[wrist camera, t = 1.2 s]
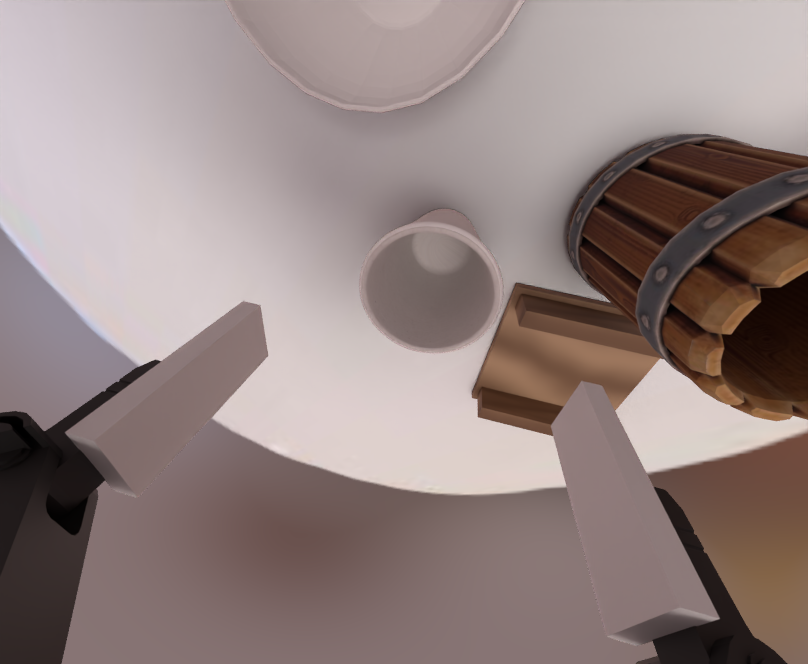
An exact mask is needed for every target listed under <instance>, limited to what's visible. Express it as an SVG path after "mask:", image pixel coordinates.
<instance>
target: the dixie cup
mask: <svg viewBox="0 0 808 664" xmlns="http://www.w3.org/2000/svg"><path fill="white" fill-rule="evenodd" d="M359 288H360V296H361V300H362V304H363V307H364V309H365V311H366V313H367V315H368V317H369V318H370V320H371V321H372V323H373V324H374V325H375V327H376V328H377V329H378V330H379V331H380V332H381V333H382V334H383V335H385V336H386V337H387V338H389V339H390V340H391V341H393V342H395V343H396V344H398V345H400V346H403V347H405V348H408V349H411V350H414V351H418V352H424V353H445V352H451V351H455V350H458V349H461V348H464V347H466V346H468V345H470V344H472V343H473V342H475V341H476V340H478V339H479V338H480V337H482V336H483V335H484V334H485V333H486V332H487V331H488V330H489V329H490V327H491V326H492V325H493V323H494V322H495V320H496V318H497V316H498V314H499V311H500V309H501V305H502V300H503V280H502V275H501V272H500V269H499V266H498V264H497V262H496V260H495V258H494V257H493V255H492V254H491V252H490V251H489V250H488V248H487V247H486V246H485V245H484V244H483V243H482V242H481V240H480V238H479V236H478V234H477V232H476V230H475V228H474V226H473V225H472V223H471V222H470V221H469V219H468V218H467V217H465V216H464V215H463V214H461V213H459V212H457V211H455V210H451V209H437V210H433V211H431V212H428V213H427V214H425V215H423V216H422V217H420V218H419V219H417V220H416V221H414V222H412V223H411V224H407V225H404V226H401V227H399V228H396V229H394V230H392V231H391V232H389V233H388V234H386V235H385V236H383V237H382V238H381V239H380V240H379V241H378V242H377V243H376V244H375V245H374V246H373V247H372V249H371V250H370V251H369V253H368V255H367V256H366V258H365V260H364V263H363V266H362V269H361V273H360V281H359Z"/></svg>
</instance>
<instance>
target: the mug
mask: <svg viewBox="0 0 808 664" xmlns="http://www.w3.org/2000/svg"><path fill="white" fill-rule="evenodd" d="M569 225H570V226H571V227H570V231H569V234H568V236H567V242H568V250H569V254H570V257H571V260H572V263H573V266H574V268H575V269H576V270H577V272H578V273H579V274H580V276H581V277H582V278H583V279H584V280H585V281H586V282H587V283H588V284H589V285H590V286H591V287H592V288H593V289H594V290H596V291H597V292H599V293H601V294H602V295H604V296H605V297H606V298H607V299H608V300H609V301H610V302H611V303H612V304H613V305H614V306H615V307H616V308H617V309H619V310H620V311H621V312H622V313H623V314H624V315H625V316H626V317H627V318H628V319H629V320H630V321H631V322H632V323H633V324H634V325H635V326H636V327H637V328H638V329H639V330H640V332H641V334H642V335H643V336H644V337H645V339H646V340H647V341H648V343H649V344H650V345H651V347H652V348H653V349H654V350H655V351H656V352H657V353H658V354H659V355H660V356H661V357H662V358H664V359H665V360H666V361H667V362H668V363H669V364H670V365H671V366H672V367H673V368H674V369H676V370H677V371H679V372H680V373H682V374H683V375H685V376H687V377H688V378H690V379H691V380H692V381H693V382H694V383H695V384H696V385H697V386H698V387H699V388H700V389H701V390H702V391H703V392H705V393H706V394H708V395H710V396H711V397H713V398H714V399H716V400H718V401H720V402H723V403H725V404H729V405H730V406H731V407H734V408H736V409H738V410H740V411H743V412H745V413H747V414H750V415H752V416H754V417H758V418H762V419H767V420H773V421H780V420H787V419H790V418H791V417H792V416H797V417H800V418H804V419H807V420H808V157H807V156H801V155H796V154H790V153H785V152H779V151H774V150H769V149H763V148H758V147H753V146H752V145H750V144H747V143H744V142H740V141H737V140H733V139H730V138H727V137H721V136H715V135H710V134H687V135H677V136H673V137H669V138H666V139H660V140H657V141H654V142H650V143H647V144H644V145H642V146H640V147H638V148H636V149H634V150H632V151H630V152H628V153H627V154H626V156H625V157H623V158H622V159H621V160H620V161H618V162H613V163H612V164H610V165H609V166H608V167H607V168H606V169H604V170H603V171H602V172H601V173H600V174H599V175H598V176H597V177H596V178H595V179H594V180H593V181H592V182H591V184H590V185H589V186H588V191H587V193H586V194H585V195H584V196H582V197H581V198H580V199H579V201H578V203H577V204H576V206H575V208H574V210H573V213H572V216H571V219H570V222H569Z"/></svg>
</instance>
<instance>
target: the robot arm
mask: <svg viewBox="0 0 808 664" xmlns="http://www.w3.org/2000/svg"><path fill="white" fill-rule="evenodd" d="M267 357H268V351H267V345H266V338H265V332H264V326H263V319H262V313H261V307H260V305H257V304H253V303H248V302H244V301H243V302H241V303H240V304H239V305H237V306H236V307H235V308H233V309H232V310H231V311H229V312H228V313H226V314H225V315H224V316H222V317H221V318H220V319H218V320H217V321H216V322H214V323H213V324H211V325H210V326H209V327H207V328H206V329H205V330H203V331H202V332H201V333H199V334H198V335H197V336H195V337H194V338H192V339H191V340H190V341H188V342H187V343H186V344H184V345H183V346H182V347H180V348H179V349H178V350H176V351H175V352H173V353H172V354H171V355H169V356H168V357H167V358H165V359H164V360H163V361H158V360H154V361H151V362H149V363H147V364H144V365H142V366H140V367H137V368H135V369H134V370H132V371H131V372H130V373H128V374H127V375H125V376H124V377H123V378H121V379H120V381H119V382H115V383H114V384H112V385H111V386H110V387H108V388H107V389H106V391H105V392H101V393H100V394H98V395H97V396H95V397H94V398H92V399H91V400H90V401H88V402H87V403H85V404H84V405H82V406H81V407H80V408H78V409H77V410H75V411H74V412H72V413H71V414H70V415H68V416H67V417H65V418H64V419H63V420H61V421H60V422H58V423H57V424H55V425H54V426H53V427H51V428H50V429H48V430H46V431H43V430H42V429H41V428H40V427H39V426H38V424H37V423H36V422H35V421H34V420H33V419H32V418H31V417H30V416H29V415H28V414H27V413H24V412H17V411H12V412H4V413H0V664H61V663H62V659H63V654H64V650H65V645H66V640H67V636H68V631H69V627H70V622H71V618H72V613H73V609H74V604H75V600H76V595H77V591H78V586H79V581H80V577H81V573H82V568H83V563H84V559H85V554H86V549H87V545H88V541H89V536H90V532H91V527H92V523H93V518H94V514H95V509H96V504H97V500H98V491H97V489H96V488H97V487H98V486H99V485H100V484H101V483H103V481H106V482H107V483H108V484H109V486H110V487H111V488H112V489H113V490H114V491H116V492H120V493H123V494H126V495H130V496H133V497H137V498H138V497H139V496H140V495H141V494H142V493H143V492H144V490H145V489H147V487H148V486H149V485H150V484H151V483H152V482H153V481H154V480H155V479H156V478H157V477H158V475H159V474H160V473H161V472H162V471H163V470H164V469H165V468H166V467H167V466H168V464H169V463H170V462H171V461H172V460H173V459H174V458H175V457H176V456H177V455H178V454H179V452H180V451H181V450H182V449H183V448H184V447H185V446H186V444H188V443H189V442H190V441H191V439H192V438H193V437H194V436H195V435H196V434H197V433H198V432H199V430H201V429H202V427H203V426H204V425H205V424H206V423H207V422H208V421H209V420H210V419H211V418H212V417H213V415H214V414H215V413H216V412H217V411H218V410H219V409H220V408H221V407H222V406H223V405H224V403H225V402H226V401H227V400H228V399H229V398H230V397H231V396H232V395H233V394H234V393H235V391H236V390H237V389H238V388H239V387H240V386H241V385H242V384H243V383H244V382H245V381H246V379H247V378H248V377H249V376H250V375H251V374H252V373H253V372H254V371H255V370H256V369H257V367H258V366H259V365H260V364H261V363H262V362H263V361H264V360H265V359H266V358H267ZM551 429H552V433H553V436H554V440H555V444H556V448H557V452H558V455H559V459H560V463H561V467H562V471H563V475H564V478H565V482H566V486H567V490H568V494H569V497H570V501H571V505H572V508H573V513H574V516H575V520H576V524H577V528H578V532H579V536H580V539H581V543H582V547H583V550H584V555H585V558H586V562H587V566H588V570H589V574H590V577H591V581H592V585H593V589H594V593H595V596H596V600H597V604H598V608H599V612H600V615H601V619H602V623H603V627H604V631H605V635H606V637H609V638H612V639H615V640H619V641H622V642H626V643H629V644H632V645H636V646H639V645H642V644H645V643H648V642H651V641H653V643H654V646H655V649H656V652H657V654H658V656H656V657H653V658H649V659H645V660H642V661H638V662H637V663H636V664H787V663H786V662H785V661H784V660H783V659H782V658H781V657H780V656H779V655H778V654H777V653H776V652H775V651H774V650H772V649H771V648H770V647H768V646H767V645H765V644H764V643H763V642H761V641H760V640H759V639H756V638H754V636H753V635H752V633H751V632H750V630H749V628H748V627H747V626H746V624H745V622H744V620H743V618H742V617H741V615H740V613H739V611H738V610H737V608H736V606H735V604H734V602H733V600H732V598H731V597H730V595H729V593H728V591H727V590H726V588H725V586H724V584H723V582H722V581H721V579H720V577H719V575H718V573H717V571H716V570H715V568H714V566H713V564H712V562H711V561H710V559H709V557H708V555H707V554H706V553H704V551H703V549H704V548H703V546H702V545H701V542H700V541H699V539H698V537H697V535H695V534H694V530H693V528H692V526H691V524H690V522H689V521H688V519H687V517H686V515H685V514H684V512H683V510H682V509H681V507H680V506H679V505H678V504H677V503H676V502H675V500H674V499H673V498H672V497H671V496H670V495H669V494H668V492H667V491H665V490H663V489H660V488H656V487H653V485H652V484H651V482H650V480H649V477H648V475H647V473H646V471H645V469H644V468H643V466H642V464H641V462H640V460H639V458H638V456H637V454H636V452H635V450H634V448H633V446H632V444H631V442H630V440H629V438H628V436H627V434H626V432H625V430H624V428H623V426H622V424H621V422H620V420H619V418H618V416H617V414H616V412H615V410H614V408H613V406H612V404H611V402H610V400H609V398H608V396H607V394H606V392H605V390H604V388H603V386H601V385H597V384H593V383H589V382H584V381H581V382H580V384H579V385H578V387H577V388H576V390H575V391H574V393H573V394H572V396H571V397H570V398H569V400H568V401H567V403H566V404H565V406H564V407H563V409H562V410H561V412H560V413H559V414H558V416H557V417H556V419H555V420H554V422H553V423H552V425H551Z"/></svg>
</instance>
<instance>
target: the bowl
mask: <svg viewBox="0 0 808 664" xmlns="http://www.w3.org/2000/svg"><path fill="white" fill-rule="evenodd" d="M225 2H226V4H227V6H228V8H229V10H230V12H231V13H232V15H233V17H234V19H235V21H236V22H237V23H238V25H239V26H240V27H241V28H242V30H243V31H244V32H245V33H246V35H247V36H248V37H249V38H250V40H251V41H252V42H253V44H254V45H255V46H256V47H257V49H258V50H259V51H260V52H261V54H262V55H263V56H264V57H265V59H266V60H267V61H268V62H269V64H270V65H272V66H273V67H274V68H275V69H277V70H278V71H279V72H280V73H281V74H283V75H284V76H285V77H286V78H288V79H289V80H290V81H291V82H292V83H294V84H295V85H296V86H297V87H299V88H300V89H301V90H302V91H303V92H305V93H306V94H308V95H311V96H313V97H315V98H318V99H320V100H322V101H325V102H327V103H329V104H332V105H334V106H336V107H339V108H341V109H344V110H355V111H366V112H378V113H384V112H388V111H392V110H396V109H400V108H404V107H408V106H412V105H416V104H420V103H423V102H424V101H426V100H428V99H429V98H431V97H432V96H434V95H436V94H437V93H439V92H441V91H442V90H444V89H445V88H447V87H449V86H450V85H452V84H453V83H455V82H457V81H458V80H460V79H462V78H463V77H464V76H465V75H466V74H467V73H468V72H469V71H470V69H471V68H472V67H473V66H474V65H475V64H476V63H477V62H478V61H479V60H480V59H481V58H482V57H483V56H484V55H485V54H486V53H487V52H488V51H489V50H490V49H491V48H492V47H493V46H494V45H495V44H496V43H497V41H498V40H499V39H500V38H501V37H502V36H503V35H504V33H505V32H506V30H507V28H508V27H509V25H510V24H511V22H512V21H513V19H514V17H515V16H516V14H517V13H518V11H519V9H520V8H521V6H522V5H523V3H524V2H525V0H225Z"/></svg>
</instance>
